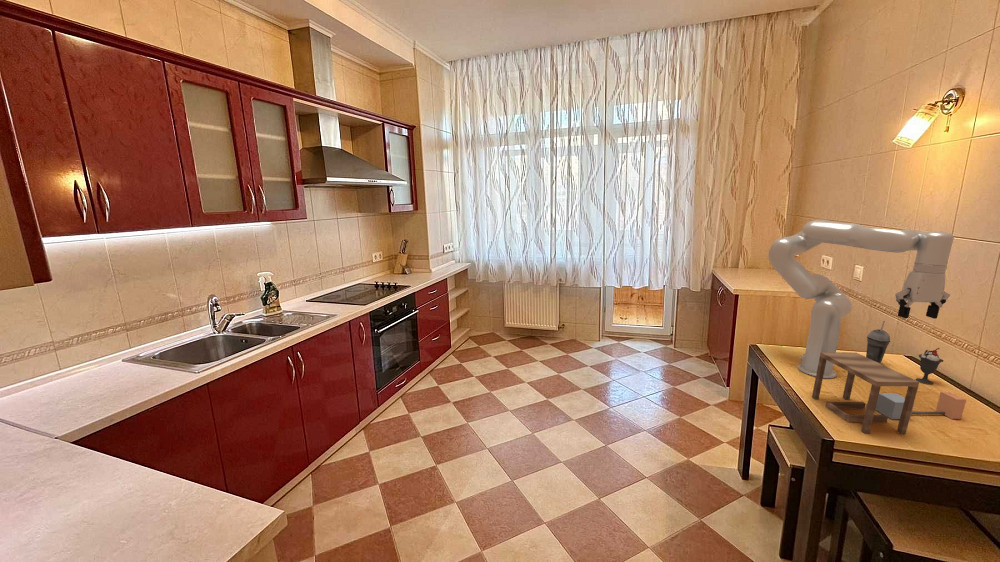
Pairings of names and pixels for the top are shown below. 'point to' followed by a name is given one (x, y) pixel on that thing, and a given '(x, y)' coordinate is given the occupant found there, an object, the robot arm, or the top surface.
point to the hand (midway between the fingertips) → (916, 317)
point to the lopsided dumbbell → (946, 405)
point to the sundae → (928, 365)
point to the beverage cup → (877, 344)
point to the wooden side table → (878, 378)
